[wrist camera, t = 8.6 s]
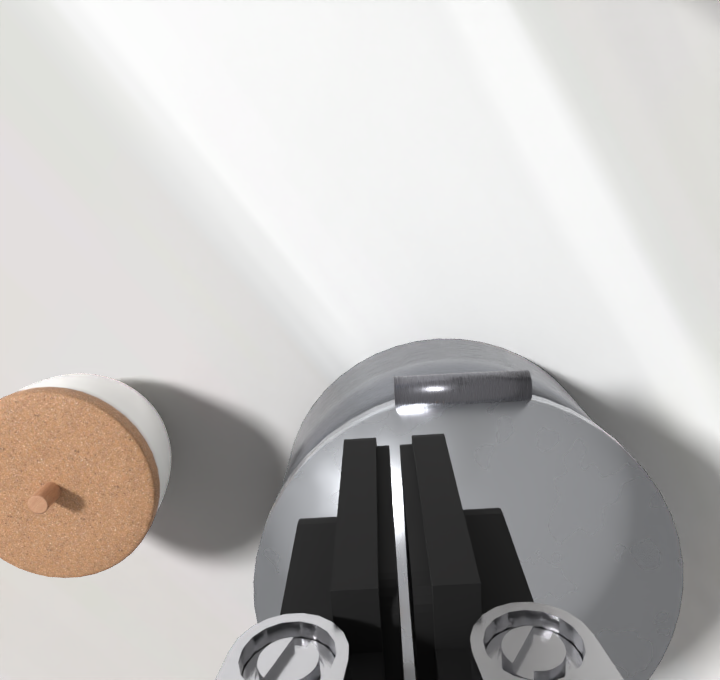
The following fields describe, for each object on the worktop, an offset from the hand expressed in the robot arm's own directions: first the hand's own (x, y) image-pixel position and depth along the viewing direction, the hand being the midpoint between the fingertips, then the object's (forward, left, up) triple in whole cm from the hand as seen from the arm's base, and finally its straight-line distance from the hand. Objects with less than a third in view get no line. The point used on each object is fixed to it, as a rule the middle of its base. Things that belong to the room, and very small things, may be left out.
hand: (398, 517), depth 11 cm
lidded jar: (+10, -18, -30) cm, 36 cm away
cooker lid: (+17, +3, -20) cm, 26 cm away
